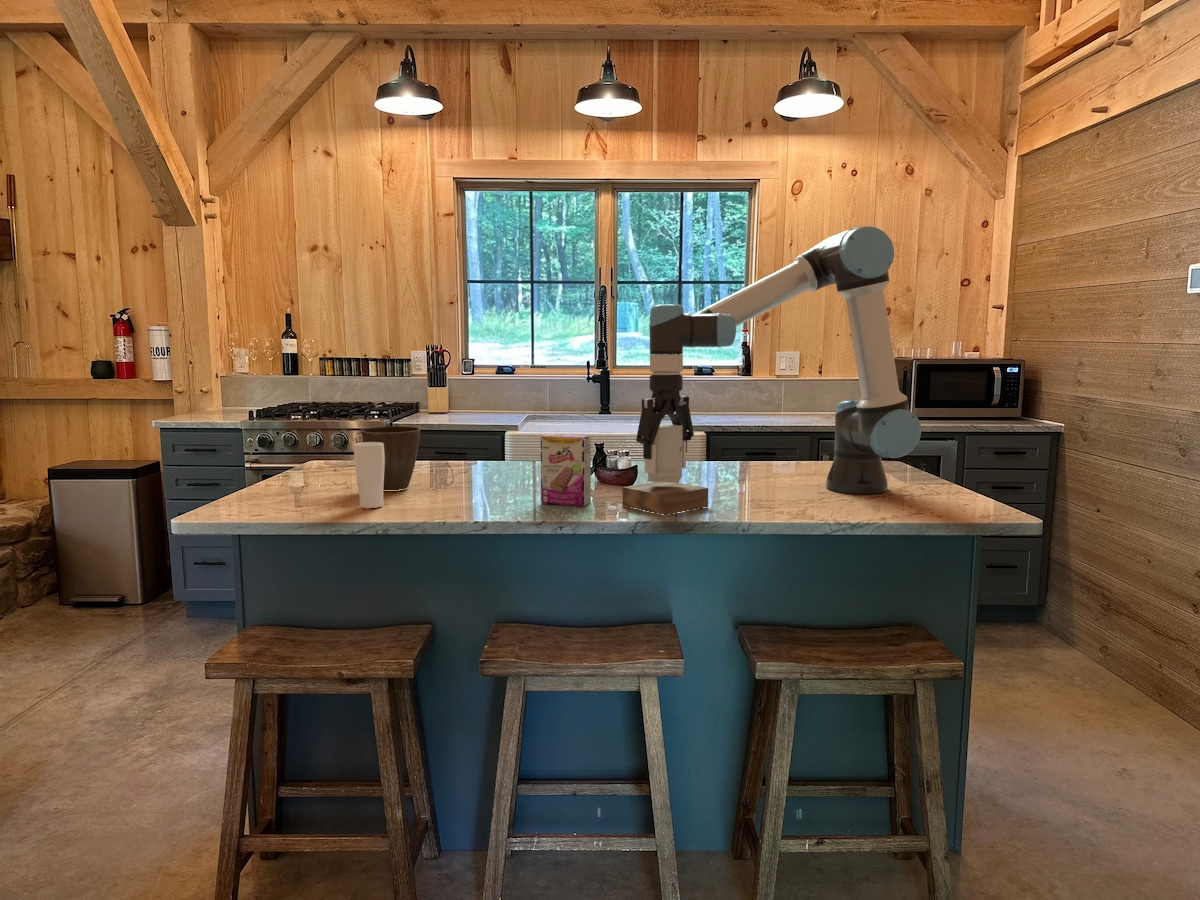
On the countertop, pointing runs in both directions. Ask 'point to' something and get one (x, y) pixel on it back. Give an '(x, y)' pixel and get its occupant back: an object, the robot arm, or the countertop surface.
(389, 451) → the plant pot
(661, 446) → the supplement box
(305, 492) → the countertop surface
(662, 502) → the walnut base block
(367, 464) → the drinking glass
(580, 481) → the candy bar box
